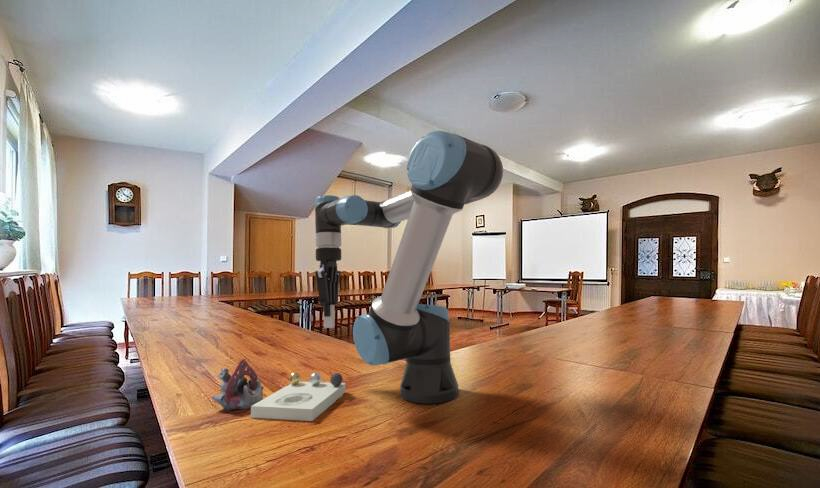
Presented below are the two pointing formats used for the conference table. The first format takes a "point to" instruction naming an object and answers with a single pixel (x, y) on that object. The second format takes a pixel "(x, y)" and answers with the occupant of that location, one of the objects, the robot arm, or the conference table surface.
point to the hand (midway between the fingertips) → (329, 327)
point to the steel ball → (315, 378)
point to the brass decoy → (294, 378)
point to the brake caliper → (239, 388)
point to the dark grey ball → (336, 379)
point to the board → (298, 401)
